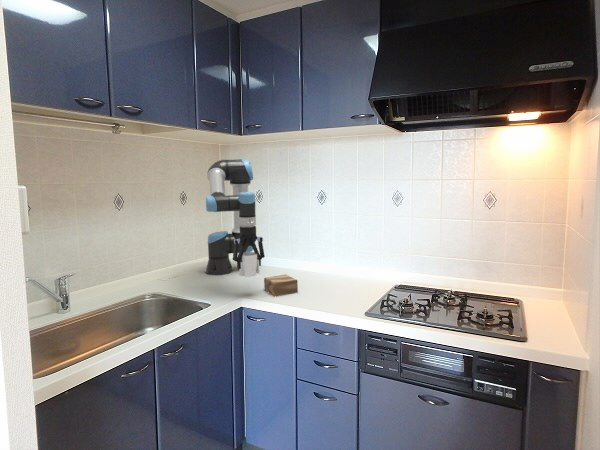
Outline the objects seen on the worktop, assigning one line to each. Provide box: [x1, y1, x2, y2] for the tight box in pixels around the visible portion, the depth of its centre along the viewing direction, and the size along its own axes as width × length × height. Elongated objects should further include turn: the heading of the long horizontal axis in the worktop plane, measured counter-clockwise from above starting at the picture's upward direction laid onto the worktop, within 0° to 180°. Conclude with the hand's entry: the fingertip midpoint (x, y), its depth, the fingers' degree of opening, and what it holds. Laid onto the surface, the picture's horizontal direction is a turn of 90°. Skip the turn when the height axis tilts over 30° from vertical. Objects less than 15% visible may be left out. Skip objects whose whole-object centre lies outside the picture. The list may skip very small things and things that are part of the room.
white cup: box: [241, 251, 257, 278], centre depth 180 cm, size 8×8×10 cm
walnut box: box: [263, 274, 299, 297], centre depth 186 cm, size 12×12×6 cm
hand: (249, 274), depth 181 cm, fingers closed on white cup, 7 cm apart
